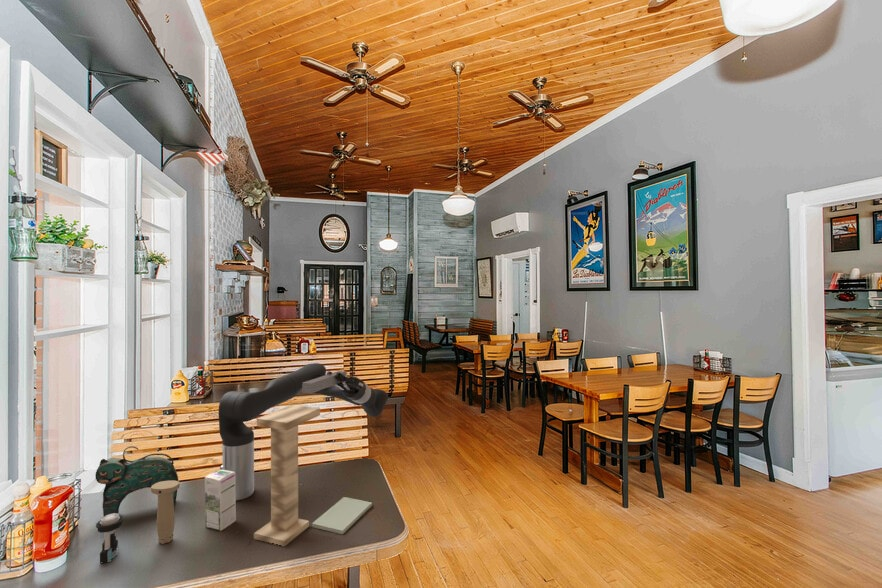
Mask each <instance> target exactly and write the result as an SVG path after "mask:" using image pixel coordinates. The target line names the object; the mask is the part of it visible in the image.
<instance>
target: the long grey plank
mask: <svg viewBox="0 0 882 588" xmlns="http://www.w3.org/2000/svg"><path fill="white" fill-rule="evenodd" d="M337 372H340V373H341V374H343V375H346V376H348V375H347V374H348V373H347V371H346V370H337V371H335V372H332V373H331V374H328V375H327V374H326V375H325V376H322V377H319V378H315V379H312V380H309V381H306V382H303V383H302V389H301V392H302V394H309V395H311V394H315V393H314V392H317V391H319V390H322V389H325V388H327V387H333V386H335V384H338V383H341V382H340V381H339V380H337V379H336V373H337Z"/></svg>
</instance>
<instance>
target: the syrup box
mask: <svg viewBox="0 0 882 588" xmlns="http://www.w3.org/2000/svg"><path fill="white" fill-rule="evenodd" d="M204 500H205V501H204V509H205V510H204V512H205V515H204V517H205V518H204V521H205V523H204V524H205V525H204V526H205V528H207V529H212V530H216V531H224V529H227V527H230V526H231V525H232V524H233V523H235V522H236V520H237V511H236V509H237V506H236V502H237V501H236V493H235V472H233V471H227V470H222V469H220V468H219V469H218V470H214V471H212V472H211V473H209V474H207V475H206V476H204Z"/></svg>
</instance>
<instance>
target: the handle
mask: <svg viewBox="0 0 882 588" xmlns="http://www.w3.org/2000/svg"><path fill="white" fill-rule="evenodd" d="M180 482H181V481H179V480H178V481H174V480H171V481H162V482H158V483H155V484H154V485H152V486H151V488H150V492H151V493H152V494H155V495H156V496H157V509H156V510H157V512H156V532H157V542H158V543H160V544H161V545H164V544H167V543H171V541H173V539H174V535H175V534H174V531H175V523H176V522H175V521H176V520H175V517H176V516H175V507H174V505H175V504H173V492H174V491H176V490H177V491H178V489H180V485H181V484H180Z"/></svg>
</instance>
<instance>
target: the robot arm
mask: <svg viewBox="0 0 882 588" xmlns="http://www.w3.org/2000/svg"><path fill="white" fill-rule="evenodd" d="M336 372H337V371H336ZM331 373H333V372H332V371H330V370H329V371H327V369H326V366H325V365H324V364H322V363H318V362H316V363H314V362H313V363H308V364H306V365H304V366H301V367H300V368H298V369H296V370H294V371H292V372H290V373H288V374H285V375H281V376H278V377H276V378H273V379H271V380H270V381H269V382H268V383H267V384H266V385H265V388H264V389H261V390H258V391H255V392H251V391H250V392H249V391H235V390H234V391H233V390H231V391H227V392H226V393H224V394H223V395H222V397H221V399H220V401H219V403H218V427H219V435H220V438H221V442H222V445H221V446H222V449H221V450H222V465H220V468H219V470H220V469H222V470H227V471H233V472H235V493H236V502H237V501H240V500H244V499H247V498H249V497H251V496H252V495H253V494H254V491H255V433H254V430H253V429H252V428H250V427H249V426H247V425H246V424H245V422H246V423H247V422H250V421H253V419H257V418H258V417H260V415H262V414H264V413H265V412H266V411H268V410H270V409H272V408H274V407H277V406H279V405H280V404H283V403H285V402H287V401H289V400H291V399H293V398H295V397H296V396H297V395H298V393H300V391H302V383H303V382H306V381H309V380H312V379H315V378H319V377H322V376H325V375H328V374H331ZM336 379H337V380H339V381H340V382H341V383H338V384H335V385H333V386H330V387H327V388H325V389H322V390H319V391H317V392H314V393H313V394H318V395H321V396H326V397H329V398H330V397H331V398H336V399H339V400H343V401H345V402H347V403H349V404H353V405H355V406H361V407H362V409H363V411H364V412H365V413H366V415H368V416H369V417H371V418H379V417H380V416H381V415H382V412H383V411H384V409H385V406H386V404H387V402H388V401H389V400H388V399H389V395H388V393H387V392H386V391H385V390H383V389H381V388H371V386H369V385H368V384H367V383H366V382H364V380H362V379H360V378H359V377H357V376H351V375H350V376H348V375H347V376H346V375H343V374H341V373H340V372H337V373H336Z"/></svg>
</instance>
